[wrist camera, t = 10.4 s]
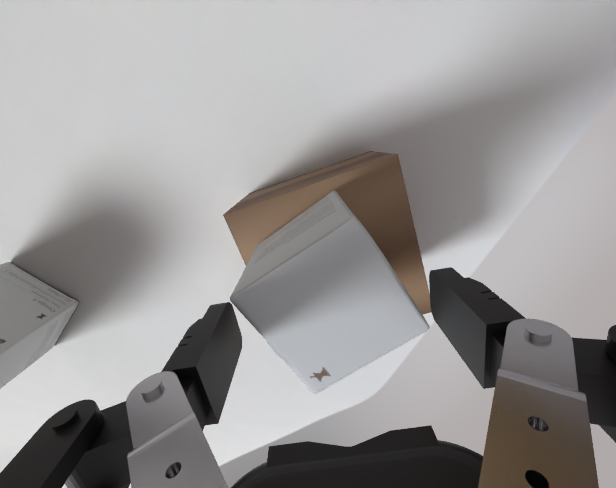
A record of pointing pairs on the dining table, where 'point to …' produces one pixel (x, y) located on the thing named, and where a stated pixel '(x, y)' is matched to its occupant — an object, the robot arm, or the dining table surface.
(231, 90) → the dining table surface
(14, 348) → the supplement box
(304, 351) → the skincare box
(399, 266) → the walnut block
